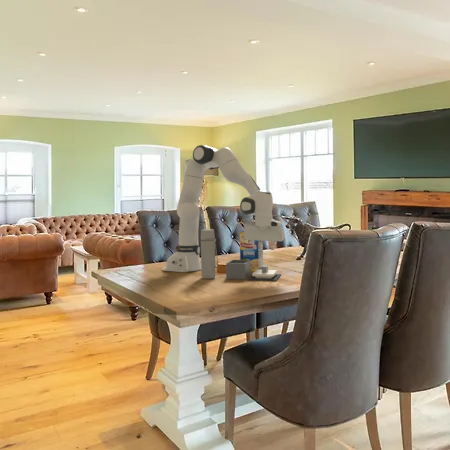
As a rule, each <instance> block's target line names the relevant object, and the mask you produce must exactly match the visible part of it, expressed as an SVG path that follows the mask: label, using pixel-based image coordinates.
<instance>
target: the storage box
mask: <svg viewBox="0 0 450 450" xmlns="http://www.w3.org/2000/svg"><path fill="white" fill-rule="evenodd" d="M225 267H226V269H225V272H226V273H225V275H226V279H227V280H246V279H249V278H250V277H251V276H252V272H251V268H250V260H240V259H231V260H229V261H227V262H226V263H225Z"/></svg>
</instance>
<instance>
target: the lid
mask: <svg viewBox="0 0 450 450" xmlns="http://www.w3.org/2000/svg"><path fill="white" fill-rule="evenodd" d="M275 274H278V270H277V269H269V265H267V264H263V266H262V270H261V269H257V270H256V271H255V272H252V273H251V276H256V278H268V279H271V278H272V277H274V275H275Z"/></svg>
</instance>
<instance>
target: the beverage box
mask: <svg viewBox="0 0 450 450" xmlns="http://www.w3.org/2000/svg"><path fill="white" fill-rule="evenodd" d="M244 231H245V230H242V231H239V260H250V268H251V273H254V272H255V271H256V270H257V269H261V270H262V266H263V265H264V241H257V240H254V242H253V243H254V245H255V246H256V249H253V246H252V244H251V240H245V239H244Z"/></svg>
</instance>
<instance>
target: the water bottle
mask: <svg viewBox="0 0 450 450" xmlns="http://www.w3.org/2000/svg"><path fill="white" fill-rule="evenodd" d="M216 241H217V238H216V236H215V230H214V229H213V228H210V229H209V228H207V229H206V228H205V229H204V228H203V229H201V232H200V256H201V257H200V263H201V270H200V271H201V278H202V279H205V280H211V279H214V278H216V268H217V269H218V266H219V261H218V260H219V259H218V252H217V243H216Z"/></svg>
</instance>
